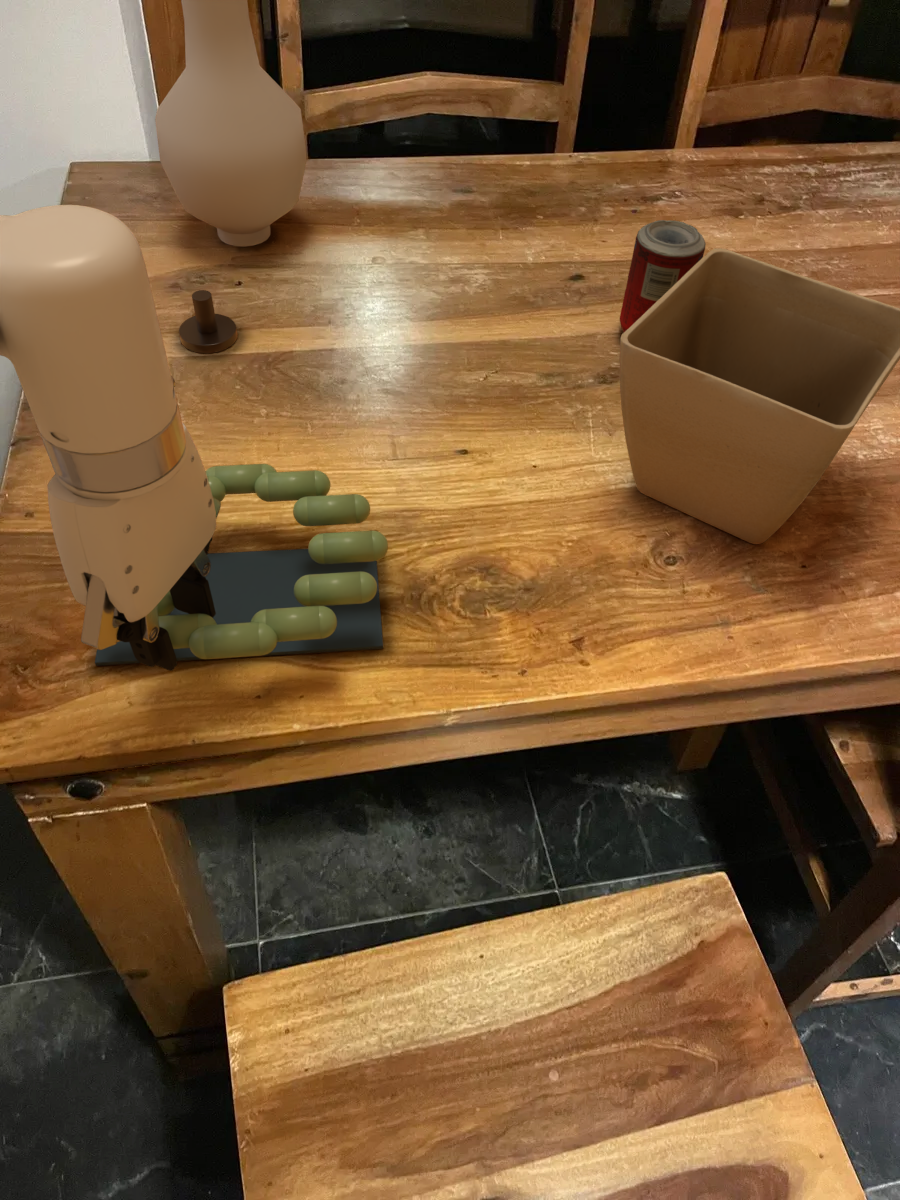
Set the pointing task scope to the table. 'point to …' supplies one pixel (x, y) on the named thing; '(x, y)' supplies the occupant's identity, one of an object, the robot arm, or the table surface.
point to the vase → (230, 128)
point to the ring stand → (207, 327)
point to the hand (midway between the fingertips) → (176, 634)
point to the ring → (308, 589)
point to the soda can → (658, 265)
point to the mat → (275, 602)
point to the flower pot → (748, 388)
